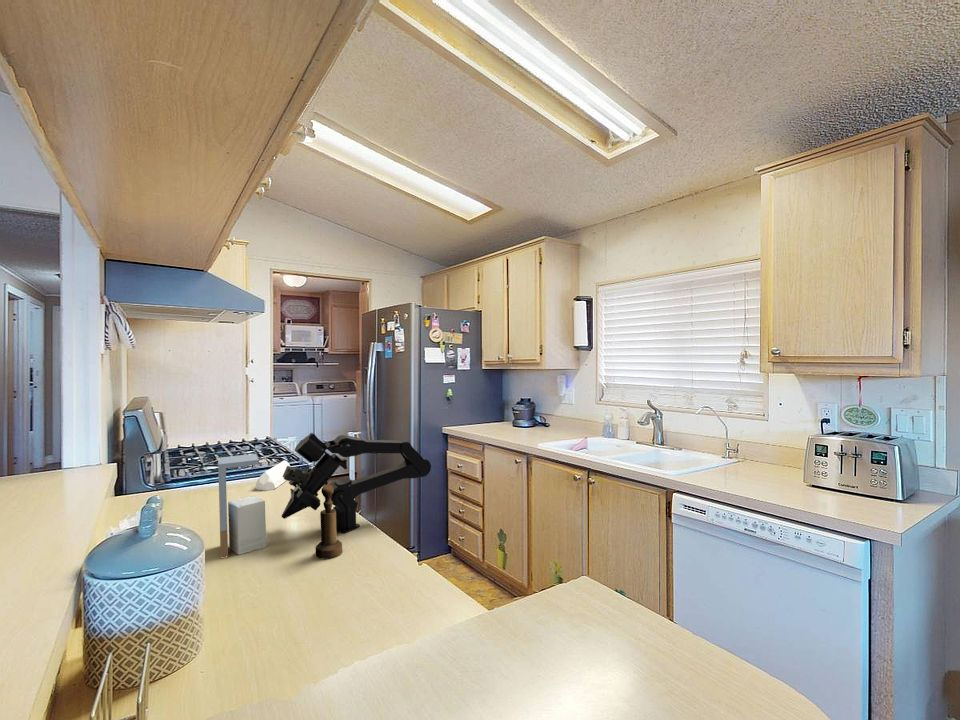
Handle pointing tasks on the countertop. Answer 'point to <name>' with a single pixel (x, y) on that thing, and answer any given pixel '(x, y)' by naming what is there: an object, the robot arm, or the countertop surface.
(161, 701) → the countertop surface
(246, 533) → the supplement box
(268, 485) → the white faceted cylinder
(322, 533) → the brown chess piece
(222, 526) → the inverted l-shaped post
